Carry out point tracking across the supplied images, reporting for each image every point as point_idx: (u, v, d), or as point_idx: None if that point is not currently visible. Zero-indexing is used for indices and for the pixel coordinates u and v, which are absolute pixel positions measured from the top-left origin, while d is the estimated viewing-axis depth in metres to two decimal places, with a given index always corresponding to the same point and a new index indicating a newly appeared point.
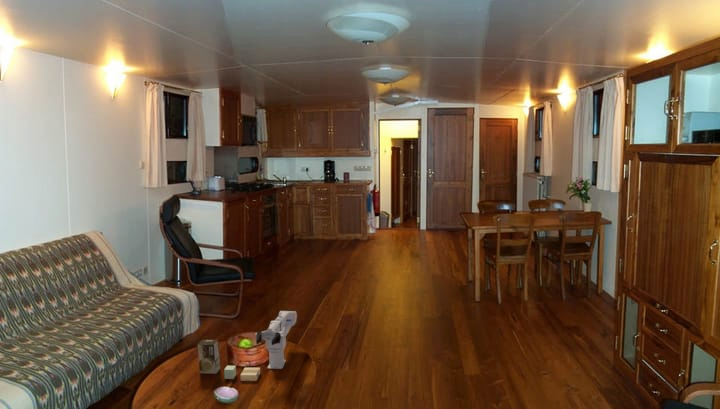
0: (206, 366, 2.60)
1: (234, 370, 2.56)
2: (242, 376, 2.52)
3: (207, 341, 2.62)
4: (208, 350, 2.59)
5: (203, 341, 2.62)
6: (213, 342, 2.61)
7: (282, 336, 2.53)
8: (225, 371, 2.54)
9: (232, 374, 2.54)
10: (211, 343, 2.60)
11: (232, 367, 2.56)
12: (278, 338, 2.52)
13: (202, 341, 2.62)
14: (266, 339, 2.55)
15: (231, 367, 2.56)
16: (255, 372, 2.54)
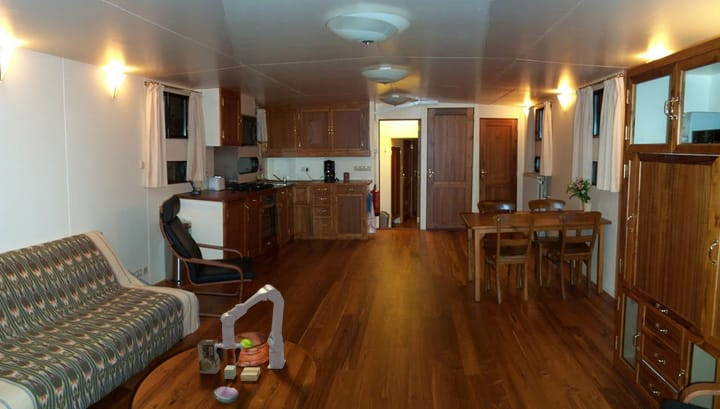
0: (206, 366, 2.60)
1: (234, 370, 2.56)
2: (242, 376, 2.52)
3: (207, 341, 2.62)
4: (208, 350, 2.59)
5: (203, 341, 2.62)
6: (213, 342, 2.61)
7: None
8: (225, 371, 2.54)
9: (232, 374, 2.54)
10: (211, 343, 2.60)
11: (232, 367, 2.56)
12: None
13: (202, 341, 2.62)
14: None
15: (231, 367, 2.56)
16: (255, 372, 2.55)
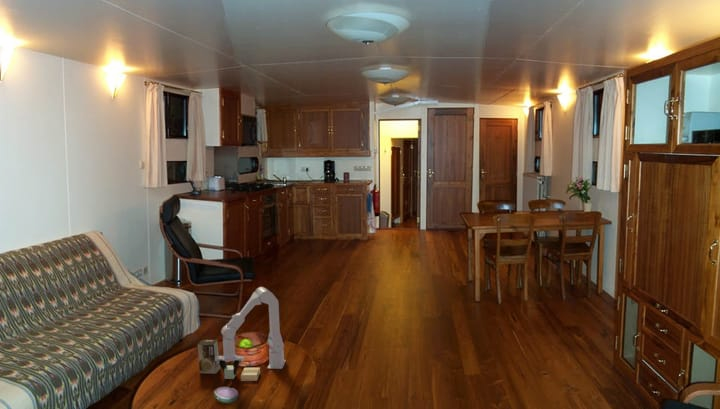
0: (206, 366, 2.60)
1: None
2: (242, 376, 2.52)
3: (207, 341, 2.62)
4: (208, 350, 2.59)
5: (203, 341, 2.62)
6: (213, 342, 2.61)
7: (242, 361, 2.55)
8: (225, 371, 2.54)
9: (232, 374, 2.54)
10: (211, 343, 2.60)
11: (232, 367, 2.56)
12: None
13: (202, 341, 2.62)
14: None
15: (231, 367, 2.56)
16: (255, 372, 2.55)
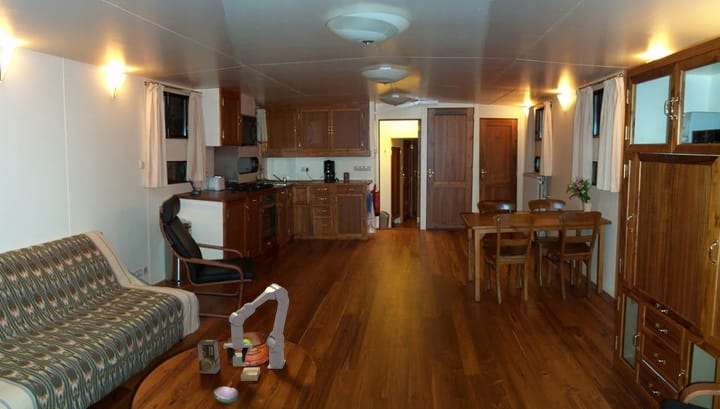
0: (206, 366, 2.60)
1: None
2: (242, 376, 2.52)
3: (207, 341, 2.62)
4: (208, 350, 2.59)
5: (203, 341, 2.62)
6: (213, 342, 2.61)
7: (251, 348, 2.53)
8: (233, 358, 2.53)
9: (240, 361, 2.53)
10: (211, 343, 2.60)
11: (240, 354, 2.55)
12: None
13: (202, 341, 2.62)
14: None
15: (240, 355, 2.55)
16: (255, 372, 2.55)
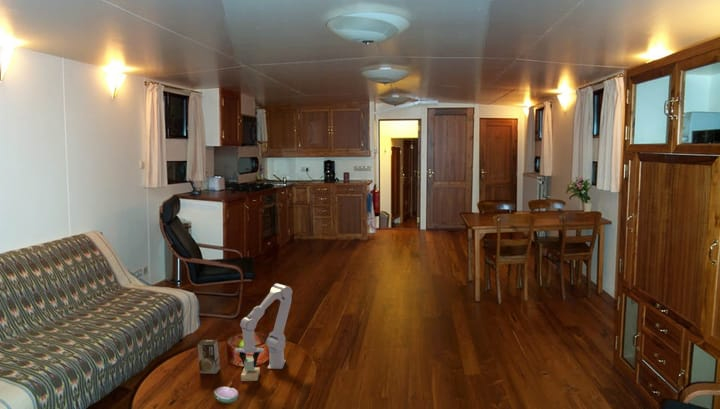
0: (206, 366, 2.60)
1: None
2: (243, 376, 2.52)
3: (207, 341, 2.62)
4: (208, 350, 2.59)
5: (203, 341, 2.62)
6: (213, 342, 2.61)
7: (262, 353, 2.53)
8: (245, 363, 2.53)
9: (252, 366, 2.53)
10: (211, 343, 2.60)
11: (252, 359, 2.55)
12: None
13: (202, 341, 2.62)
14: None
15: (251, 359, 2.55)
16: (255, 372, 2.55)
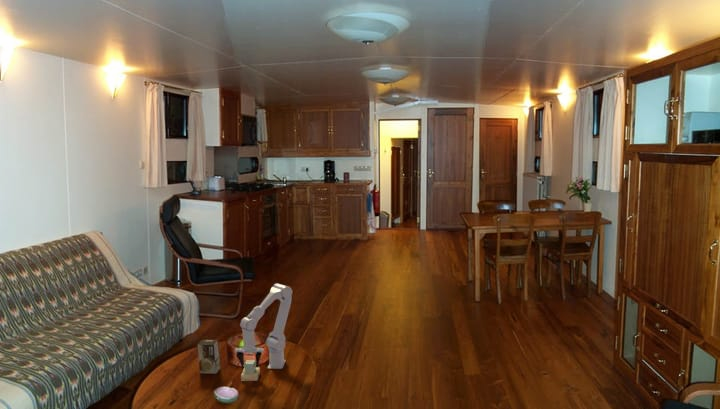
0: (206, 366, 2.60)
1: (254, 364, 2.55)
2: (243, 376, 2.52)
3: (207, 341, 2.62)
4: (208, 350, 2.59)
5: (203, 341, 2.62)
6: (213, 342, 2.61)
7: (262, 353, 2.53)
8: (245, 365, 2.53)
9: (252, 368, 2.53)
10: (211, 343, 2.60)
11: (252, 361, 2.55)
12: None
13: (202, 341, 2.62)
14: None
15: (251, 362, 2.55)
16: (255, 372, 2.55)
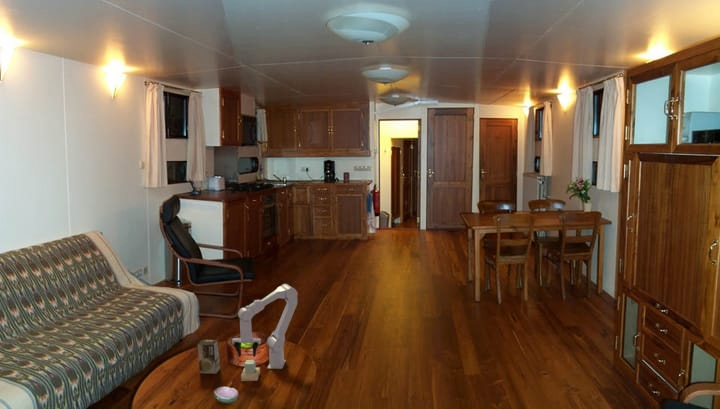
0: (206, 366, 2.60)
1: (254, 364, 2.55)
2: (243, 376, 2.52)
3: (207, 341, 2.62)
4: (208, 350, 2.59)
5: (203, 341, 2.62)
6: (213, 342, 2.61)
7: (259, 343, 2.57)
8: (245, 365, 2.53)
9: (252, 368, 2.53)
10: (211, 343, 2.60)
11: (252, 361, 2.55)
12: None
13: (202, 341, 2.62)
14: None
15: (251, 362, 2.55)
16: (256, 372, 2.55)
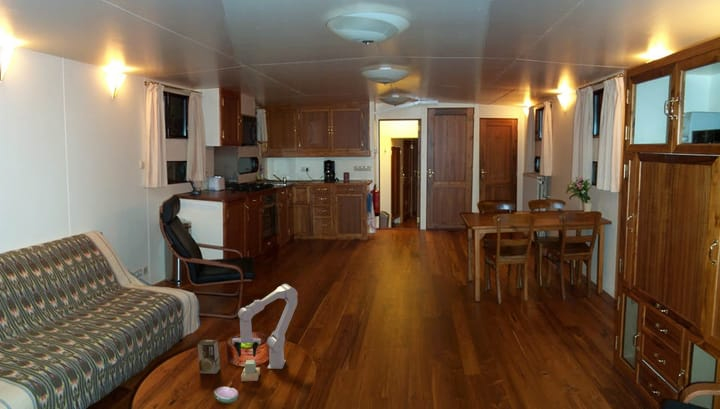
0: (206, 366, 2.60)
1: (254, 364, 2.55)
2: (243, 376, 2.52)
3: (207, 341, 2.62)
4: (208, 350, 2.59)
5: (203, 341, 2.62)
6: (213, 342, 2.61)
7: (259, 343, 2.57)
8: (246, 365, 2.53)
9: (253, 368, 2.53)
10: (211, 343, 2.60)
11: (252, 361, 2.56)
12: None
13: (202, 341, 2.62)
14: None
15: (252, 362, 2.55)
16: (255, 372, 2.55)
